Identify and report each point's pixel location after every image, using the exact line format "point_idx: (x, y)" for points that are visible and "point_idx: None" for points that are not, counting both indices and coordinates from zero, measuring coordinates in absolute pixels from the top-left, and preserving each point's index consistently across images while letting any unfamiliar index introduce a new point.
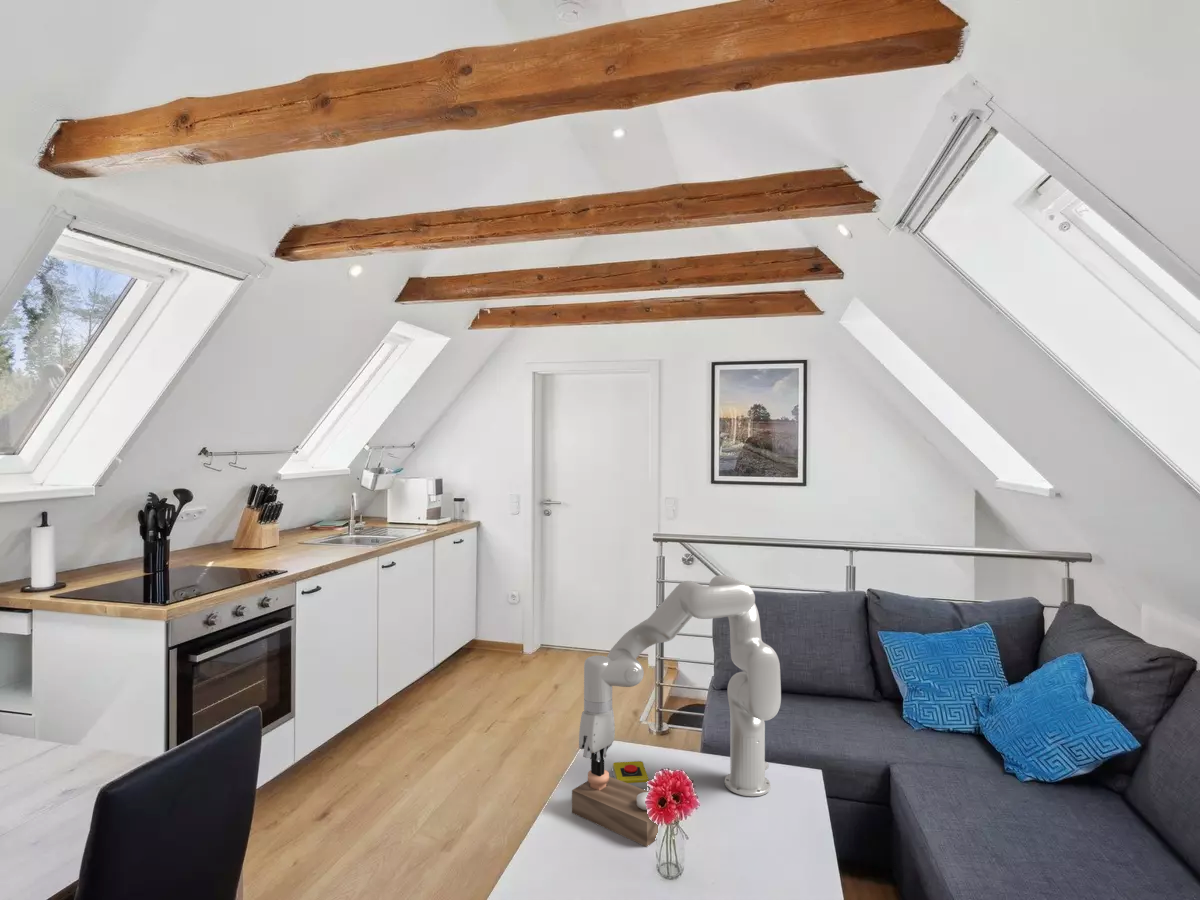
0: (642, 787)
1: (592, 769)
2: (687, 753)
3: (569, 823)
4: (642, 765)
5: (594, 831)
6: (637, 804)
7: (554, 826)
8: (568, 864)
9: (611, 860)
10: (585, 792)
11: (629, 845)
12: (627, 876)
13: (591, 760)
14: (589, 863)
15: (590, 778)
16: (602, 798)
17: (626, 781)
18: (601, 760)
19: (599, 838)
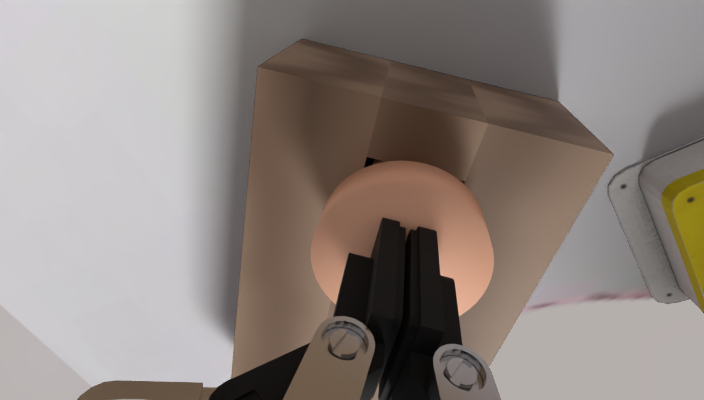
0: (679, 278)
1: (345, 266)
2: None
3: (213, 77)
4: None
5: (230, 205)
6: None
7: (144, 17)
8: (13, 202)
9: (133, 306)
10: (281, 170)
11: (233, 328)
12: (110, 355)
13: (371, 295)
14: (71, 257)
15: (316, 227)
16: (277, 278)
17: (677, 235)
18: (380, 397)
19: (203, 237)
